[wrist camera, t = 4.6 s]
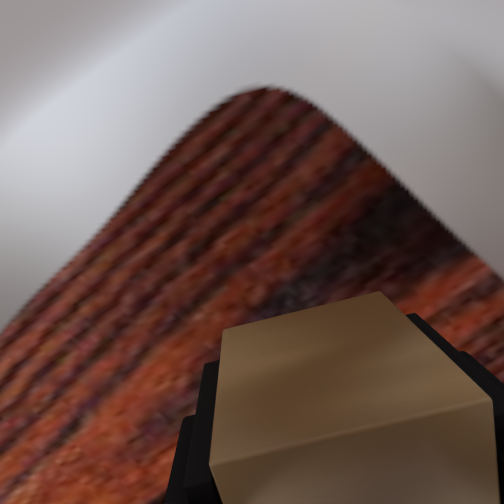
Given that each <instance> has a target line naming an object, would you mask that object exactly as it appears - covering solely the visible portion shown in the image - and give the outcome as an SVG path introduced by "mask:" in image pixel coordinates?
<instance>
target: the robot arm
mask: <svg viewBox="0 0 504 504" xmlns="http://www.w3.org/2000/svg"><path fill="white" fill-rule="evenodd" d="M405 316H406V317H407V318H408V319H409V320H410V321H412V322H413V323H414V324H415V325H416V326H417V327H418V328H419V329H420V330H421V331H422V332H423V333H424V334H425V335H426V336H427V337H428V338H429V339H430V340H431V341H432V342H433V343H434V344H435V345H436V346H438V347H439V348H440V349H441V350H442V351H443V352H444V353H445V354H446V355H447V356H448V357H449V358H450V359H451V360H452V361H453V362H454V363H455V364H456V365H457V366H458V367H459V368H460V369H461V370H462V371H464V372H465V373H466V374H467V375H468V376H469V377H470V378H471V379H472V380H473V381H474V382H475V383H476V384H477V385H478V386H479V387H480V388H481V389H482V390H483V391H484V392H485V393H486V394H487V395H488V396H490V398H491V399H492V402H493V414H494V426H495V438H496V451H497V463H498V475H499V487H500V499H501V504H504V384H503V383H502V382H501V381H500V380H499V379H497V378H496V377H495V376H494V375H493V374H492V373H490V372H489V371H488V370H487V369H486V368H485V367H484V366H482V365H481V364H480V363H479V362H478V361H477V360H475V359H474V358H473V357H472V356H471V355H469V354H468V353H466V352H464V351H460V352H459V351H458V350H456V349H455V348H454V347H453V346H452V345H451V344H450V343H449V342H448V341H446V340H445V339H444V338H443V337H442V336H441V335H440V334H439V333H437V332H436V331H435V330H434V329H433V328H432V327H431V326H430V325H428V324H427V323H426V322H425V321H424V320H423V319H422V318H421V317H420V316H418V315H417V314H416V313H412V314H407V315H405ZM219 364H220V360H218V361H214V362H210V363H206V364H205V365H204V369H203V375H202V380H201V386H200V392H199V397H198V403H197V409H196V414H195V415H191V416H187V417H185V418H184V419H183V421H182V425H181V429H180V434H179V438H178V443H177V447H176V452H175V456H174V461H173V465H172V470H171V474H170V479H169V483H168V488H167V492H166V497H165V501H164V504H223V503H222V500H221V497H220V494H219V491H218V489H217V486H216V483H215V480H214V478H213V475H212V472H211V469H210V466H209V460H210V450H211V441H212V431H213V422H214V412H215V402H216V393H217V383H218V374H219Z"/></svg>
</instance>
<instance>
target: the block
mask: <svg viewBox="0 0 504 504" xmlns="http://www.w3.org/2000/svg"><path fill="white" fill-rule="evenodd" d="M209 466H210V469H211V472H212V475H213V478H214V480H215V483H216V486H217V489H218V491H219V494H220V497H221V500H222V503H223V504H501V499H500V487H499V475H498V463H497V451H496V438H495V426H494V414H493V402H492V399H491V398H490V396H488V395H487V394H486V393H485V392H484V391H483V390H482V389H481V388H480V387H479V386H478V385H477V384H476V383H475V382H474V381H473V380H472V379H471V378H470V377H469V376H468V375H467V374H466V373H465V372H464V371H462V370H461V369H460V368H459V367H458V366H457V365H456V364H455V363H454V362H453V361H452V360H451V359H450V358H449V357H448V356H447V355H446V354H445V353H444V352H443V351H442V350H441V349H440V348H439V347H438V346H436V345H435V344H434V343H433V342H432V341H431V340H430V339H429V338H428V337H427V336H426V335H425V334H424V333H423V332H422V331H421V330H420V329H419V328H418V327H417V326H416V325H415V324H414V323H413V322H412V321H410V320H409V319H408V318H407V317H406V316H405V315H404V314H403V313H402V312H401V311H400V310H399V309H398V308H397V307H396V306H395V305H394V304H393V303H392V302H391V301H390V300H389V299H388V298H387V297H386V296H384V295H383V294H382V293H381V292H379V291H378V292H374V293H370V294H366V295H362V296H358V297H354V298H350V299H345V300H341V301H337V302H333V303H329V304H325V305H321V306H317V307H313V308H309V309H305V310H301V311H297V312H293V313H289V314H284V315H280V316H276V317H272V318H268V319H264V320H260V321H256V322H252V323H248V324H244V325H240V326H236V327H232V328H228V329H224V330H223V336H222V345H221V355H220V364H219V374H218V383H217V393H216V402H215V412H214V422H213V431H212V441H211V450H210V460H209Z"/></svg>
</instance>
